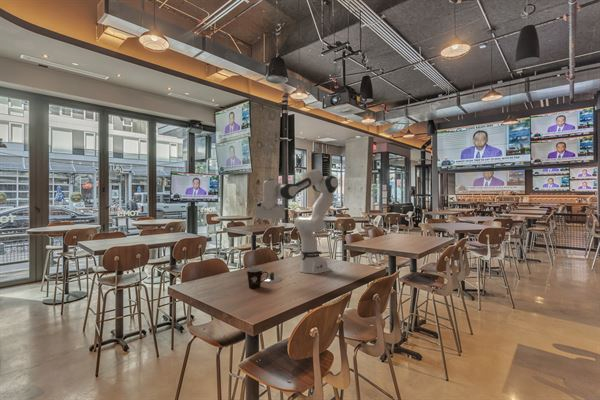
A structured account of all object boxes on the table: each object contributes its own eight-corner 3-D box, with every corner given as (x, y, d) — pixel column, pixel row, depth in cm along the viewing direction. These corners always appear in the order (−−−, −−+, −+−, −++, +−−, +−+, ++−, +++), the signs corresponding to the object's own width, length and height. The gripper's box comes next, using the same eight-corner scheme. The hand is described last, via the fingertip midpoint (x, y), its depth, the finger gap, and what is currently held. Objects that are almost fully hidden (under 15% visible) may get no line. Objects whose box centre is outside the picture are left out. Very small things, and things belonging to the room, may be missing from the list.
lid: (276, 276, 197) (276, 269, 197) (284, 281, 187) (284, 273, 187) (259, 279, 192) (259, 272, 192) (266, 284, 181) (266, 276, 181)
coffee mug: (244, 288, 172) (244, 271, 171) (251, 284, 180) (251, 267, 180) (262, 290, 168) (262, 272, 168) (269, 286, 176) (269, 269, 176)
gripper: (286, 204, 192) (286, 225, 192) (258, 203, 199) (258, 224, 199) (282, 204, 186) (282, 226, 186) (253, 204, 193) (253, 225, 194)
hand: (269, 225), depth 193 cm, fingers open, 8 cm apart
